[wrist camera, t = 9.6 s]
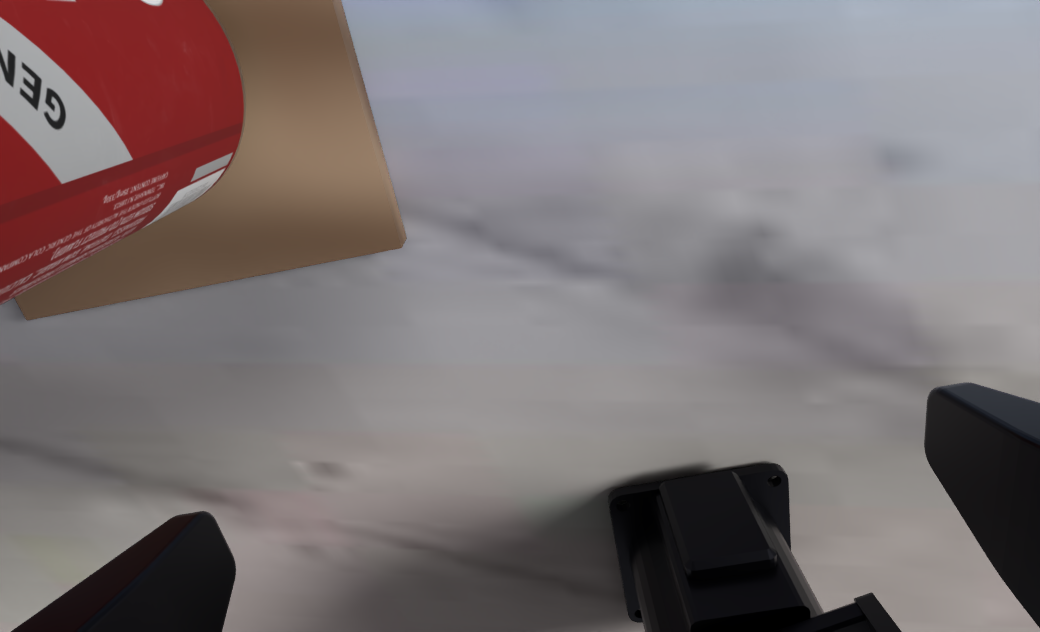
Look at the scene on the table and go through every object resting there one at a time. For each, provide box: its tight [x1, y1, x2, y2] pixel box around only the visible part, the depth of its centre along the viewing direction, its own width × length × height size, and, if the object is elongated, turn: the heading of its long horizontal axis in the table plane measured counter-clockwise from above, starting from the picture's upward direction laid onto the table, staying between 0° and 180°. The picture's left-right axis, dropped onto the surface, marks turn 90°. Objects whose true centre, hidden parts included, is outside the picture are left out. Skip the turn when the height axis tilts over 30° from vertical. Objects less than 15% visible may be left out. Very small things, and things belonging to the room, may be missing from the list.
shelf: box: [14, 0, 406, 320], centre depth 16 cm, size 14×12×4 cm
